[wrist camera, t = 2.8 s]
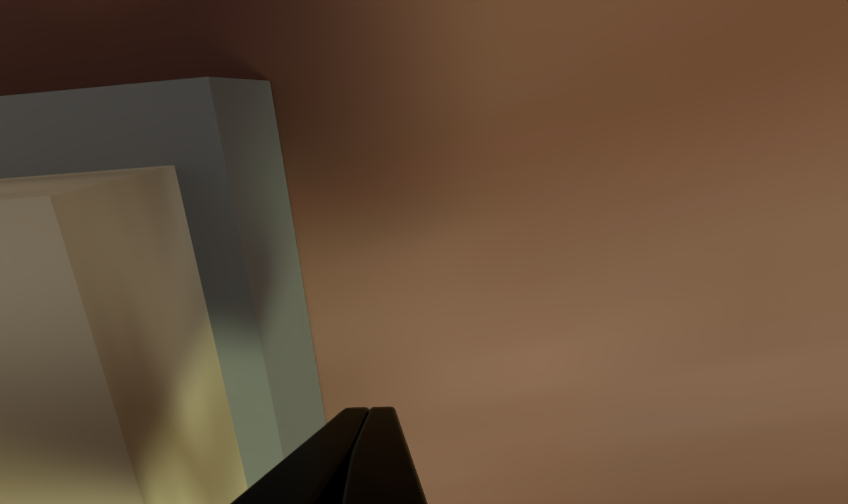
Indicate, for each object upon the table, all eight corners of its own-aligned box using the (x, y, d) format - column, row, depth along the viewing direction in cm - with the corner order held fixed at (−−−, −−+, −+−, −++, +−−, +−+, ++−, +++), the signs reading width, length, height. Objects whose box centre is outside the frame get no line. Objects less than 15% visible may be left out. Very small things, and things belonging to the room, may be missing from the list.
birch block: (259, 539, 12) (197, 676, 9) (67, 540, 13) (-49, 671, 10) (174, 165, 9) (49, 195, 7) (-65, 183, 10) (-278, 219, 7)
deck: (337, 494, 15) (308, 586, 12) (35, 498, 16) (-56, 584, 13) (270, 80, 12) (208, 76, 9) (-112, 115, 13) (-277, 121, 10)
